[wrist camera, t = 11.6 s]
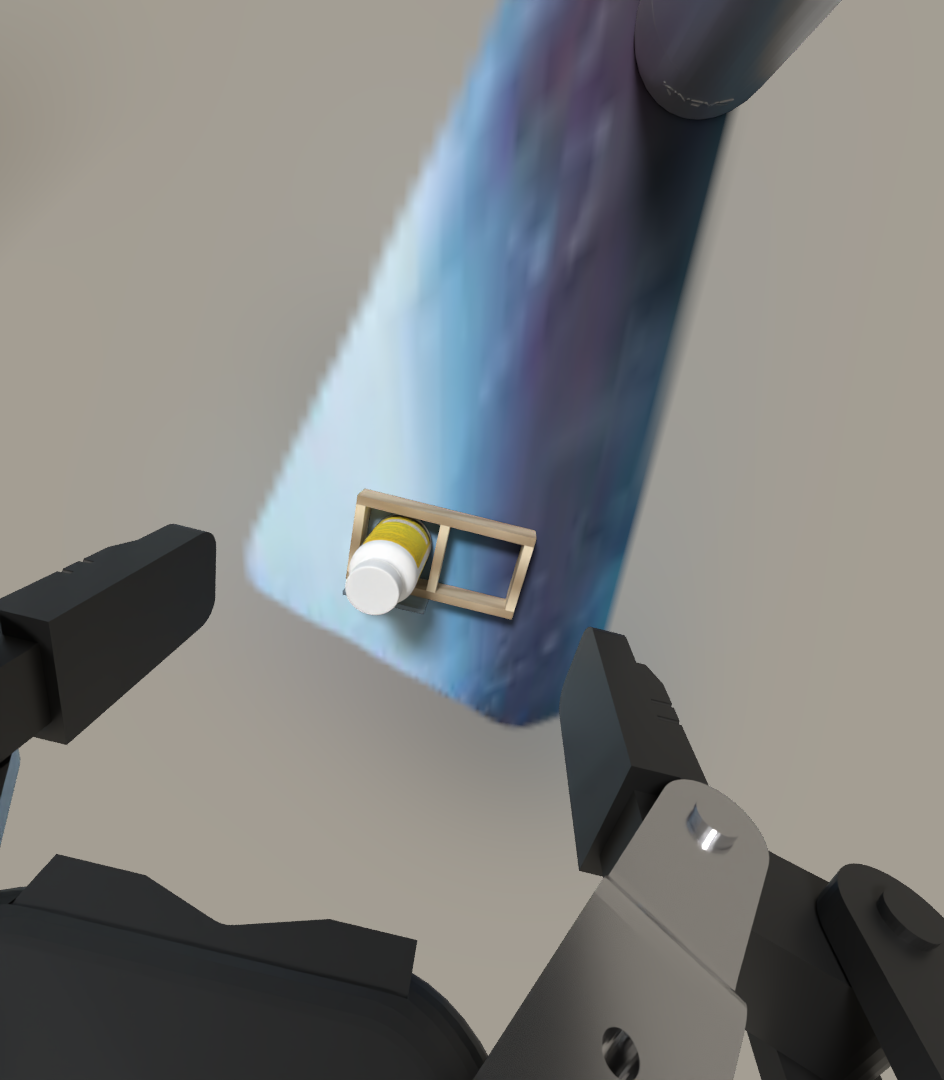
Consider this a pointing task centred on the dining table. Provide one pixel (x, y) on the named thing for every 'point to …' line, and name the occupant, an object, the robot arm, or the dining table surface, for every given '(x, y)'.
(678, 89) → the robot arm
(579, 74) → the dining table surface
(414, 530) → the supplement bottle
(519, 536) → the rack
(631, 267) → the dining table surface
